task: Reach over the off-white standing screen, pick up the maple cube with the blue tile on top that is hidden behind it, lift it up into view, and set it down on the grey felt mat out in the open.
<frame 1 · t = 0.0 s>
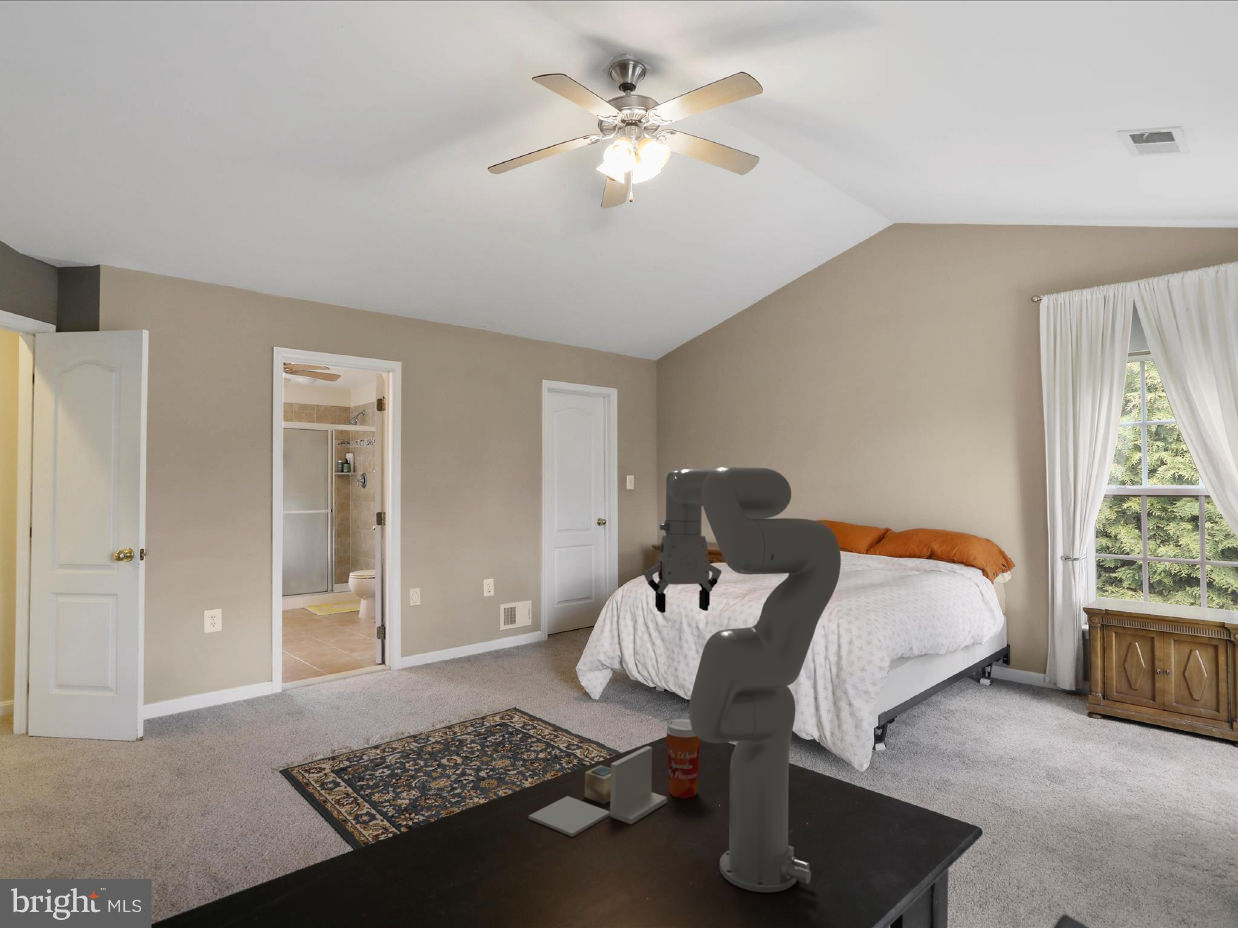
hand: (682, 610, 150), 37 cm above the table, tool pointing down, fingers open, 9 cm apart
screen: (631, 806, 141), on the table
felt mat: (569, 816, 136), on the table
maple cube: (601, 796, 145), on the table
paper cup: (683, 793, 148), on the table
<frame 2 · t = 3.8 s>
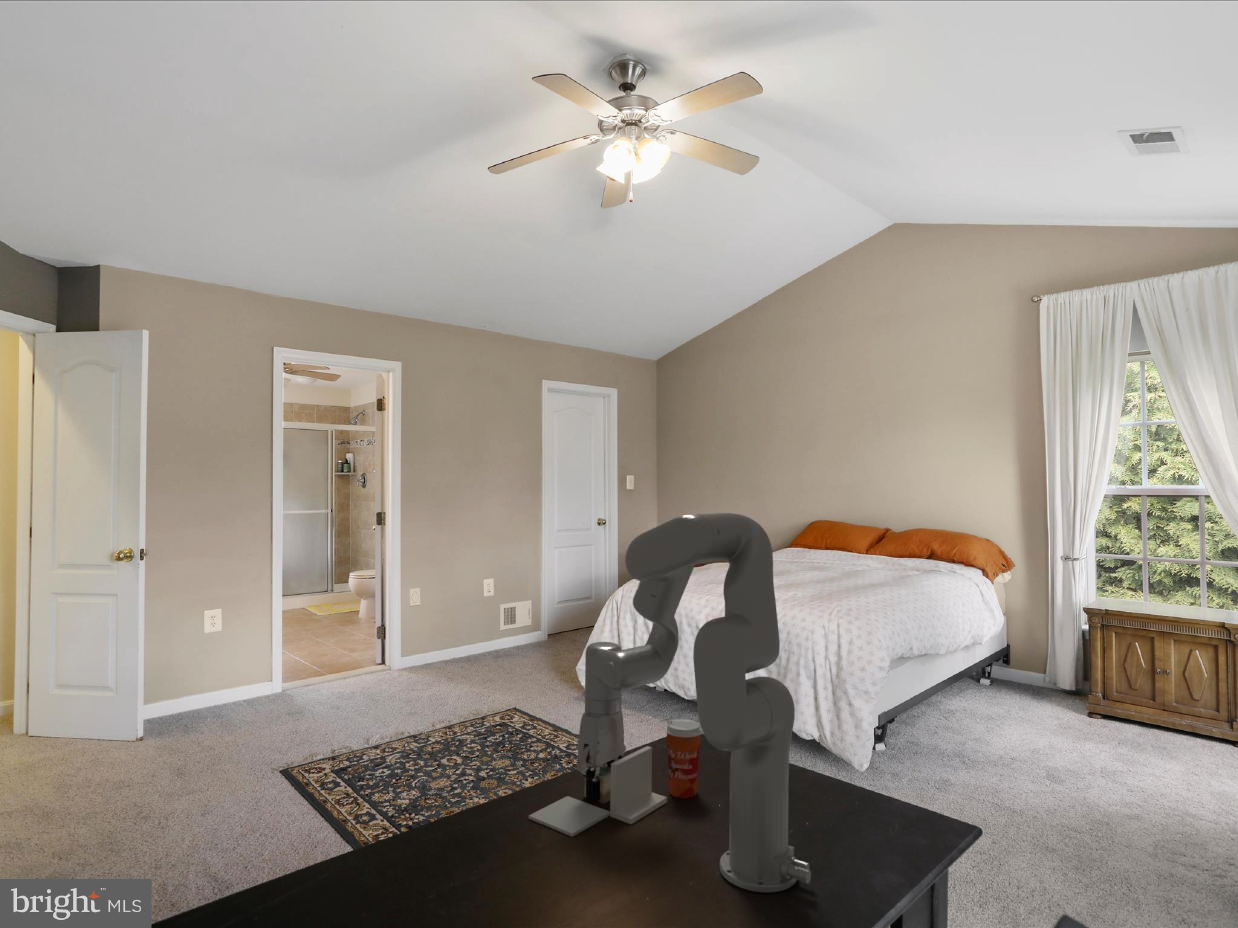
hand: (601, 793, 145), 0 cm above the table, tool pointing down, fingers closed on maple cube, 5 cm apart
maple cube: (601, 795, 145), on the table, touching gripper
everything else where it was.
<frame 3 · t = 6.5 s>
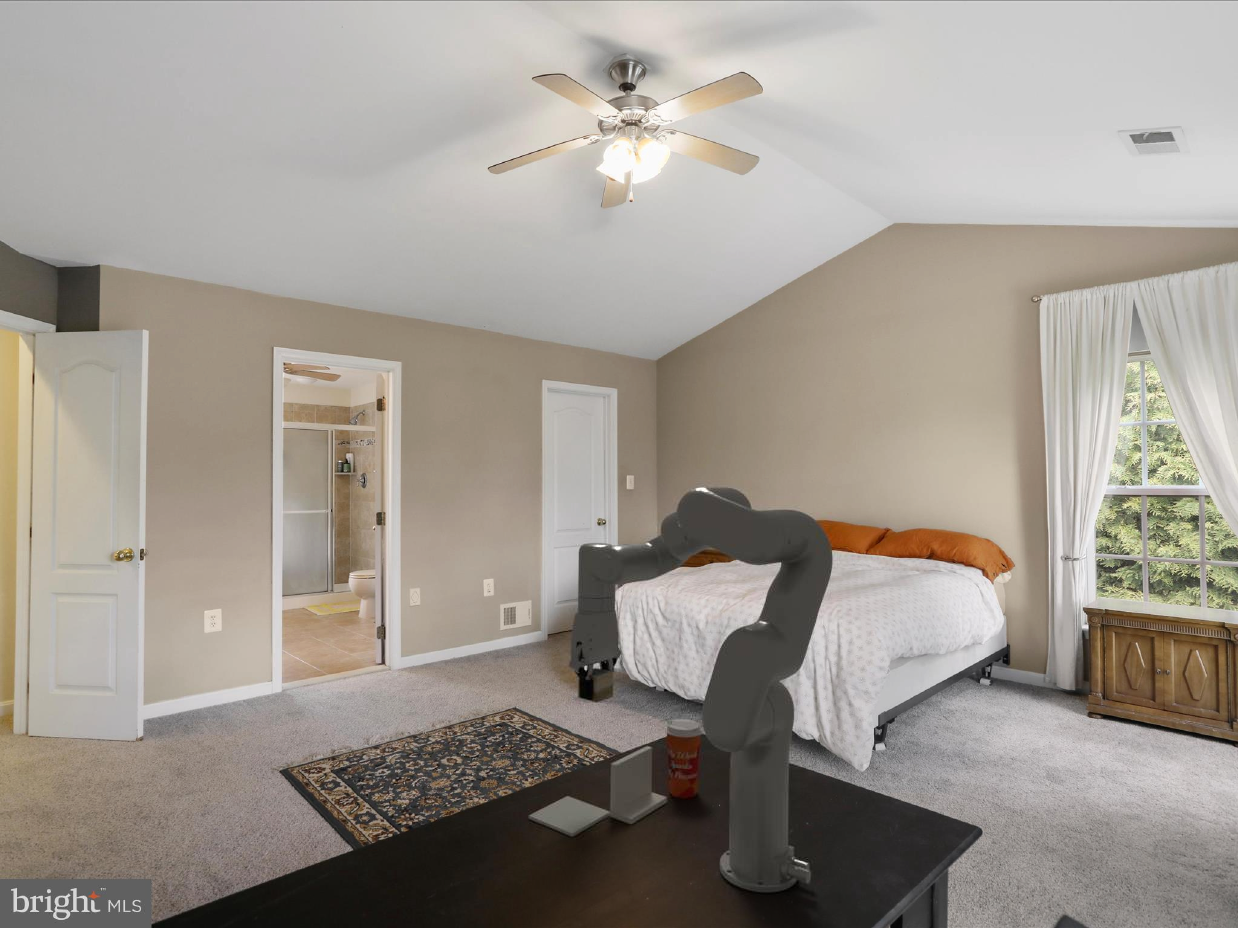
hand: (595, 694, 143), 21 cm above the table, tool pointing down, fingers closed on maple cube, 5 cm apart
maple cube: (595, 697, 144), point 21 cm above the table, touching gripper
everything else where it was.
when the fingers open (1 cm above the table, at t = 9.6 s): maple cube stays where it is, resting on felt mat.
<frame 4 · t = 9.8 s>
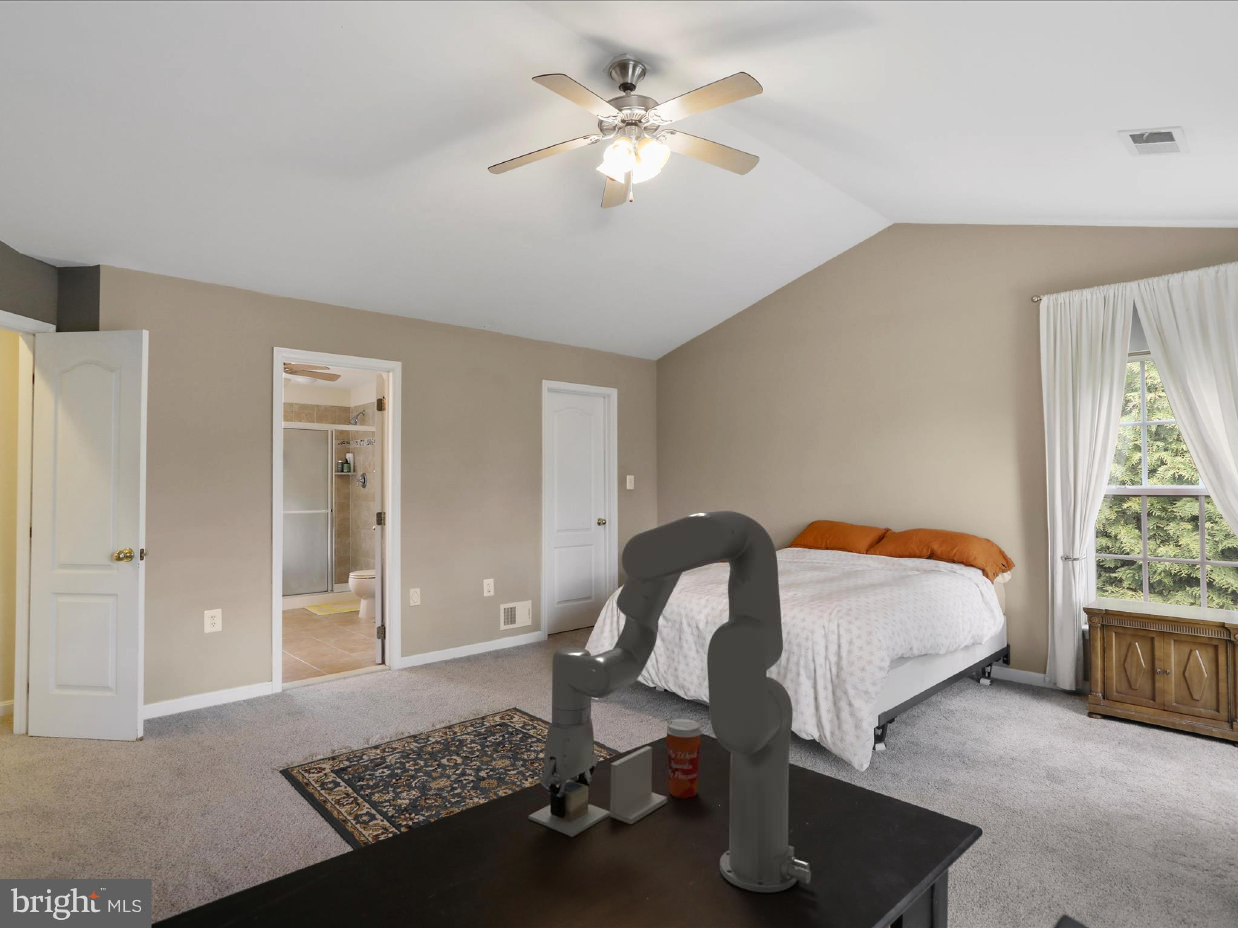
hand: (569, 808, 136), 2 cm above the table, tool pointing down, fingers open, 6 cm apart
maple cube: (569, 813, 136), point 1 cm above the table, touching felt mat
everything else where it was.
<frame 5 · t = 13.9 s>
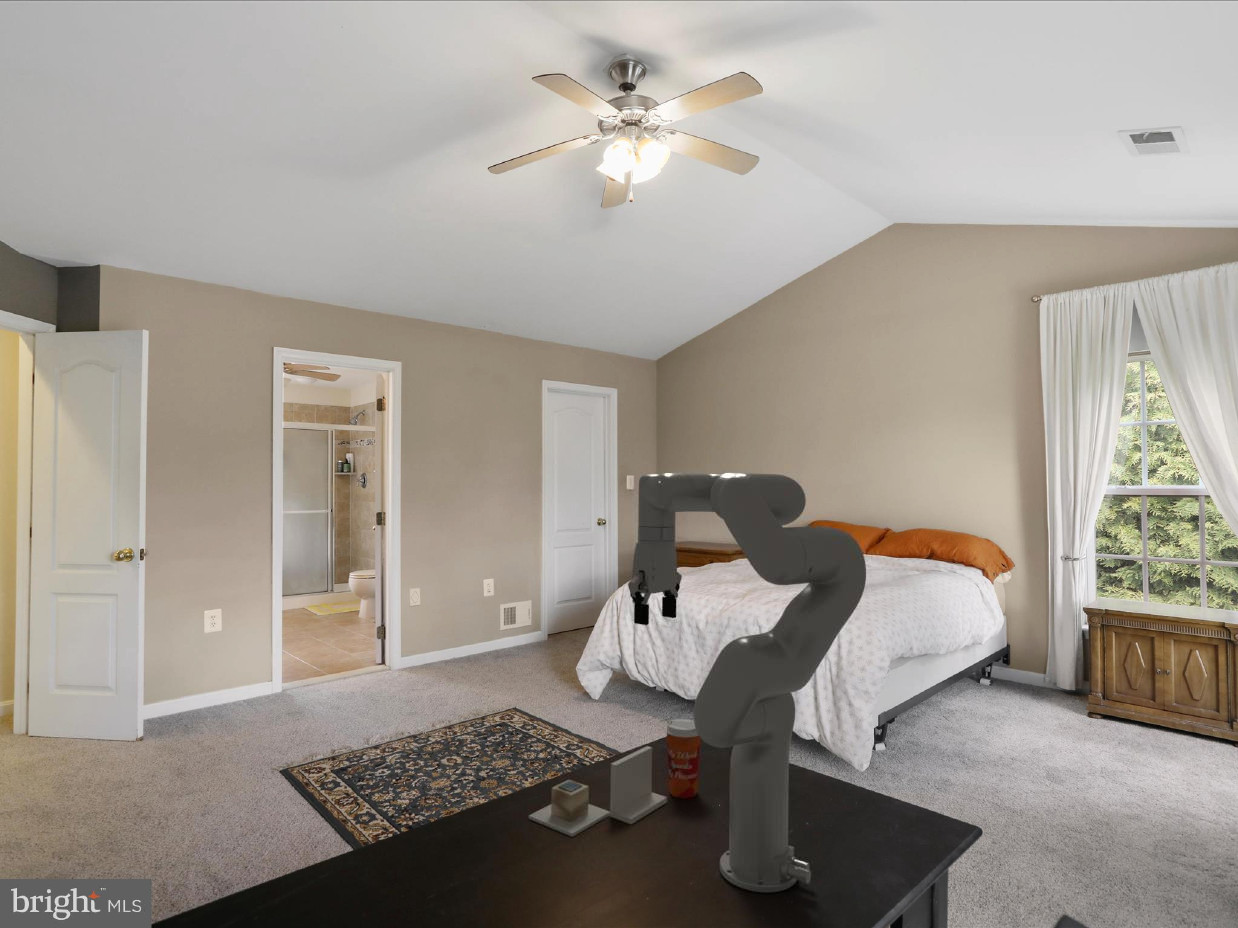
hand: (655, 620, 143), 36 cm above the table, tool pointing down, fingers open, 9 cm apart
nothing on the table moved.
at the end: maple cube inside the target area on the felt mat (0.0 cm from its centre), point 0.6 cm above the felt mat's base; maple cube tilted 0°; the gripper is holding nothing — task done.
